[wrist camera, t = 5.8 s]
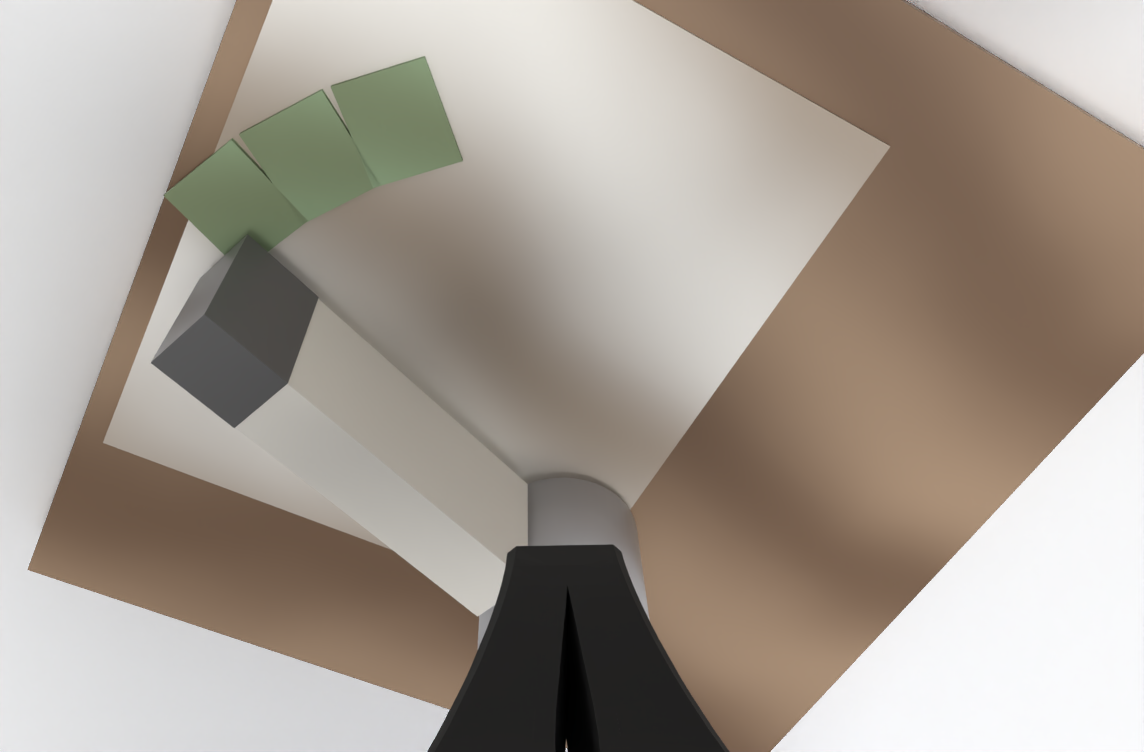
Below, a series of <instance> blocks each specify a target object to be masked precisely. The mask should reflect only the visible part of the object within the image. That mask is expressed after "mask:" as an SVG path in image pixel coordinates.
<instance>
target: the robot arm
mask: <svg viewBox="0 0 1144 752" xmlns="http://www.w3.org/2000/svg"><path fill="white" fill-rule="evenodd" d="M566 741H567V749H568V752H730V751H729V750H728V749H727V747H726V746H725V744H724V743H723V742H722V740H721V739H720V737H719V736H718V734H717V733H716V732H715V730H714V729H713V727H712V726H711V724H710V723H709V721H708V720H707V718H706V717H705V715H704V714H703V712H702V710H701V709H700V707H699V706H698V704H697V703H696V701H695V700H694V698H693V697H692V695H691V693H690V692H689V690H688V689H687V687H686V685H685V684H684V682H683V680H682V679H681V677H680V675H679V674H678V672H677V670H676V668H675V667H674V665H673V663H672V661H671V659H670V658H669V656H668V654H667V652H666V651H665V649H664V647H663V645H662V643H661V642H660V640H659V638H658V636H657V634H656V632H655V630H654V628H653V627H652V625H651V623H650V621H649V618H648V616H647V614H646V612H645V610H644V608H643V606H642V604H641V602H640V600H639V597H638V595H637V593H636V590H635V588H634V586H633V583H632V581H631V578H630V576H629V573H628V570H627V568H626V565H625V562H624V559H623V555H622V552H621V551H620V550H619V549H618V548H617V547H616V546H615V545H613V544H607V545H550V546H516V547H514V548H513V549H512V550H511V551H509V552H508V553H507V558H506V566H505V571H504V575H503V580H502V584H501V587H500V591H499V594H498V597H497V601H496V604H495V607H494V609H493V612H492V615H491V618H490V621H489V624H488V626H487V629H486V631H485V634H484V636H483V639H482V641H481V643H480V646H479V648H478V651H477V653H476V656H475V658H474V660H473V663H472V665H471V668H470V670H469V672H468V674H467V676H466V679H465V681H464V683H463V685H462V687H461V689H460V691H459V693H458V695H457V697H456V699H455V701H454V703H453V705H452V707H451V709H450V711H449V713H448V715H447V717H446V719H445V721H444V723H443V724H442V726H441V728H440V730H439V732H438V734H437V736H436V737H435V739H434V741H433V743H432V744H431V746H430V748H429V750H428V752H565V748H566Z"/></svg>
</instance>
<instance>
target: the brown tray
mask: <svg viewBox="0 0 1144 752" xmlns="http://www.w3.org/2000/svg"><path fill="white" fill-rule="evenodd" d="M247 234H248V235H249V236H250V237H252V238H253V239H254V240H255V241H256V242H257V243H258V244H259V245H261V246H262V247H263V248H264V249H265V250H266V251H267V252H268V253H270V254H271V255H272V256H273V257H274V258H275V259H276V260H277V261H279V262H280V263H281V264H282V265H283V266H284V267H285V268H286V269H288V270H289V271H290V272H291V273H292V274H293V275H294V276H296V277H297V278H298V279H299V280H300V281H301V282H302V283H303V284H305V285H306V286H307V287H308V288H309V289H310V290H311V291H312V292H314V293H315V294H316V295H317V296H318V297H319V298H318V299H319V300H320V301H321V302H323V303H324V304H325V305H326V306H327V307H328V308H329V309H330V310H332V311H333V312H334V313H335V314H336V315H337V316H338V317H339V318H341V319H342V320H343V321H344V322H345V323H346V324H347V325H348V326H350V327H351V328H352V329H353V330H354V331H355V332H356V333H358V334H359V335H360V336H361V337H362V338H363V339H364V340H365V341H367V342H368V343H369V344H370V345H371V346H372V347H373V348H374V349H376V350H377V351H378V352H379V353H380V354H381V355H382V356H383V357H385V358H386V359H387V360H388V361H389V362H390V363H391V364H393V365H394V366H395V367H396V368H397V369H398V370H399V371H400V372H402V373H403V374H404V375H405V376H406V377H407V378H408V379H409V380H411V381H412V382H413V383H414V384H415V385H416V386H417V387H418V388H420V389H421V390H422V391H423V392H424V393H425V394H426V395H428V396H429V397H430V398H431V399H432V400H433V401H434V402H435V403H437V404H438V405H439V406H440V407H441V408H442V409H443V410H444V411H446V412H447V413H448V414H449V415H450V416H451V417H452V418H453V419H455V420H456V421H457V422H458V423H459V424H460V425H461V426H463V427H464V428H465V429H466V430H467V431H468V432H469V433H470V434H472V435H473V436H474V437H475V438H476V439H477V440H478V441H479V442H481V443H482V444H483V445H484V446H485V447H486V448H487V449H488V450H490V451H491V452H492V453H493V454H494V455H495V456H496V457H498V458H499V459H500V460H501V461H502V462H503V463H504V464H505V465H507V466H508V467H509V468H510V469H511V470H512V471H513V472H514V473H516V474H517V475H518V476H519V477H520V478H521V479H522V480H523V481H525V482H526V483H527V484H529V483H532V482H534V481H538V480H543V479H549V478H577V479H582V480H587V481H590V482H593V483H596V484H598V485H601V486H603V487H605V488H607V489H608V490H610V491H612V492H613V493H614V494H616V495H617V496H618V497H619V498H620V499H621V500H622V501H623V502H624V503H625V504H626V505H627V507H628V508H629V509H630V511H631V513H632V515H633V517H634V519H635V523H636V526H637V533H638V540H639V547H640V555H641V562H642V569H643V576H644V584H645V591H646V598H647V605H648V613H649V620H650V623H651V625H652V627H653V628H654V630H655V632H656V634H657V636H658V638H659V640H660V642H661V643H662V645H663V647H664V649H665V651H666V652H667V654H668V656H669V658H670V659H671V661H672V663H673V665H674V667H675V668H676V670H677V672H678V674H679V675H680V677H681V679H682V680H683V682H684V684H685V685H686V687H687V689H688V690H689V692H690V693H691V695H692V697H693V698H694V700H695V701H696V703H697V704H698V706H699V707H700V709H701V710H702V712H703V714H704V715H705V717H706V718H707V720H708V721H709V723H710V724H711V726H712V727H713V729H714V730H715V732H716V733H717V734H718V736H719V737H720V739H721V740H722V742H723V743H724V744H725V746H726V747H727V749H728V750H729V751H730V752H770V751H771V750H772V749H773V748H774V747H775V746H776V745H777V744H778V743H779V742H780V741H781V739H782V738H783V737H784V736H785V735H786V734H787V733H788V732H789V731H790V730H791V729H792V728H793V727H794V726H795V725H796V723H797V722H798V721H799V720H800V719H801V718H802V717H803V716H804V715H805V714H806V713H807V712H808V711H809V710H810V709H811V707H812V706H813V705H814V704H815V703H816V702H817V701H818V700H819V699H820V698H821V697H822V696H823V695H824V694H825V693H826V691H827V690H828V689H829V688H830V687H831V686H832V685H833V684H834V683H835V682H836V681H837V680H838V679H839V678H840V677H841V675H842V674H843V673H844V672H845V671H846V670H847V669H848V668H849V667H850V666H851V665H852V664H853V663H854V662H855V661H856V659H857V658H858V657H859V656H860V655H861V654H862V653H863V652H864V651H865V650H866V649H867V648H868V647H869V646H870V645H871V643H872V642H873V641H874V640H875V639H876V638H877V637H878V636H879V635H880V634H881V633H882V632H883V631H884V630H885V629H886V627H887V626H888V625H889V624H890V623H891V622H892V621H893V620H894V619H895V618H896V617H897V616H898V615H899V614H900V613H901V611H902V610H903V609H904V608H905V607H906V606H907V605H908V604H909V603H910V602H911V601H912V600H913V599H914V598H915V597H916V595H917V594H918V593H919V592H920V591H921V590H922V589H923V588H924V587H925V586H926V585H927V584H928V583H929V582H930V581H931V579H932V578H933V577H934V576H935V575H936V574H937V573H938V572H939V571H940V570H941V569H942V568H943V567H944V566H945V565H946V563H947V562H948V561H949V560H950V559H951V558H952V557H953V556H954V555H955V554H956V553H957V552H958V551H959V550H960V549H961V547H962V546H963V545H964V544H965V543H966V542H967V541H968V540H969V539H970V538H971V537H972V536H973V535H974V534H975V533H976V531H977V530H978V529H979V528H980V527H981V526H982V525H983V524H984V523H985V522H986V521H987V520H988V519H989V518H990V517H991V515H992V514H993V513H994V512H995V511H996V510H997V509H998V508H999V507H1000V506H1001V505H1002V504H1003V503H1004V502H1005V501H1006V499H1007V498H1008V497H1009V496H1010V495H1011V494H1012V493H1013V492H1014V491H1015V490H1016V489H1017V488H1018V487H1019V486H1020V485H1021V483H1022V482H1023V481H1024V480H1025V479H1026V478H1027V477H1028V476H1029V475H1030V474H1031V473H1032V472H1033V471H1034V470H1035V469H1036V467H1037V466H1038V465H1039V464H1040V463H1041V462H1042V461H1043V460H1044V459H1045V458H1046V457H1047V456H1048V455H1049V454H1050V453H1051V451H1052V450H1053V449H1054V448H1055V447H1056V446H1057V445H1058V444H1059V443H1060V442H1061V441H1062V440H1063V439H1064V438H1065V437H1066V435H1067V434H1068V433H1069V432H1070V431H1071V430H1072V429H1073V428H1074V427H1075V426H1076V425H1077V424H1078V423H1079V422H1080V421H1081V419H1082V418H1083V417H1084V416H1085V415H1086V414H1087V413H1088V412H1089V411H1090V410H1091V409H1092V408H1093V407H1094V406H1095V404H1096V403H1097V402H1098V401H1099V400H1100V399H1101V398H1102V397H1103V396H1104V395H1105V394H1106V393H1107V392H1108V391H1109V390H1110V388H1111V387H1112V386H1113V385H1114V384H1115V383H1116V382H1117V381H1118V380H1119V379H1120V378H1121V377H1122V376H1123V375H1124V374H1125V372H1126V371H1127V370H1128V369H1129V368H1130V367H1131V366H1132V365H1133V364H1134V363H1135V362H1136V361H1137V360H1138V359H1139V358H1140V356H1141V355H1142V354H1143V353H1144V147H1142V146H1141V145H1139V144H1137V143H1136V142H1134V141H1133V140H1131V139H1129V138H1128V137H1126V136H1124V135H1123V134H1121V133H1120V132H1118V131H1116V130H1115V129H1113V128H1111V127H1110V126H1108V125H1107V124H1105V123H1103V122H1102V121H1100V120H1099V119H1097V118H1095V117H1094V116H1092V115H1090V114H1089V113H1087V112H1086V111H1084V110H1082V109H1081V108H1079V107H1077V106H1076V105H1074V104H1073V103H1071V102H1069V101H1068V100H1066V99H1065V98H1063V97H1061V96H1060V95H1058V94H1056V93H1055V92H1053V91H1052V90H1050V89H1048V88H1047V87H1045V86H1043V85H1042V84H1040V83H1039V82H1037V81H1035V80H1034V79H1032V78H1031V77H1029V76H1027V75H1026V74H1024V73H1022V72H1021V71H1019V70H1018V69H1016V68H1014V67H1013V66H1011V65H1009V64H1008V63H1006V62H1005V61H1003V60H1001V59H1000V58H998V57H997V56H995V55H993V54H992V53H990V52H988V51H987V50H985V49H984V48H982V47H980V46H979V45H977V44H975V43H974V42H972V41H971V40H969V39H967V38H966V37H964V36H963V35H961V34H959V33H958V32H956V31H954V30H953V29H951V28H950V27H948V26H946V25H945V24H943V23H941V22H940V21H938V20H937V19H935V18H933V17H932V16H930V15H929V14H927V13H925V12H924V11H922V10H920V9H919V8H917V7H916V6H914V5H912V4H911V3H909V2H907V1H906V0H236V3H235V6H234V9H233V11H232V14H231V17H230V20H229V22H228V25H227V28H226V30H225V33H224V36H223V39H222V41H221V44H220V47H219V49H218V52H217V55H216V58H215V60H214V63H213V66H212V69H211V71H210V74H209V77H208V79H207V82H206V85H205V88H204V90H203V93H202V96H201V99H200V101H199V104H198V107H197V109H196V112H195V115H194V118H193V120H192V123H191V126H190V128H189V131H188V134H187V137H186V139H185V142H184V145H183V148H182V150H181V153H180V156H179V158H178V161H177V164H176V167H175V169H174V172H173V175H172V178H171V180H170V183H169V186H168V188H167V191H166V193H165V194H164V199H163V202H162V205H161V207H160V210H159V213H158V216H157V218H156V221H155V224H154V227H153V229H152V232H151V235H150V237H149V240H148V243H147V246H146V248H145V251H144V254H143V257H142V259H141V262H140V265H139V267H138V270H137V273H136V276H135V278H134V281H133V284H132V286H131V289H130V292H129V295H128V297H127V300H126V303H125V306H124V308H123V311H122V314H121V316H120V319H119V322H118V325H117V327H116V330H115V333H114V336H113V338H112V341H111V344H110V346H109V349H108V352H107V355H106V357H105V360H104V363H103V365H102V368H101V371H100V374H99V376H98V379H97V382H96V385H95V387H94V390H93V393H92V395H91V398H90V401H89V404H88V406H87V409H86V412H85V415H84V417H83V420H82V423H81V425H80V428H79V431H78V434H77V436H76V439H75V442H74V444H73V447H72V450H71V453H70V455H69V458H68V461H67V464H66V466H65V469H64V472H63V474H62V477H61V480H60V483H59V485H58V488H57V491H56V494H55V496H54V499H53V502H52V504H51V507H50V510H49V513H48V515H47V518H46V521H45V523H44V526H43V529H42V532H41V534H40V537H39V540H38V543H37V545H36V548H35V551H34V553H33V556H32V559H31V562H30V564H29V567H28V570H30V571H33V572H36V573H39V574H42V575H45V576H48V577H51V578H54V579H57V580H60V581H63V582H66V583H69V584H72V585H75V586H78V587H81V588H84V589H87V590H90V591H93V592H96V593H99V594H102V595H105V596H108V597H111V598H114V599H117V600H120V601H123V602H127V603H130V604H133V605H136V606H139V607H142V608H145V609H148V610H151V611H154V612H157V613H160V614H163V615H166V616H169V617H172V618H175V619H178V620H181V621H184V622H187V623H190V624H193V625H196V626H199V627H202V628H205V629H208V630H211V631H214V632H217V633H220V634H223V635H226V636H229V637H232V638H235V639H238V640H241V641H244V642H247V643H250V644H253V645H257V646H260V647H263V648H266V649H269V650H272V651H275V652H278V653H281V654H284V655H287V656H290V657H293V658H296V659H299V660H302V661H305V662H308V663H311V664H314V665H317V666H320V667H323V668H326V669H329V670H332V671H335V672H338V673H341V674H344V675H347V676H350V677H353V678H356V679H359V680H362V681H365V682H368V683H371V684H374V685H377V686H380V687H383V688H387V689H390V690H393V691H396V692H399V693H402V694H405V695H408V696H411V697H414V698H417V699H420V700H423V701H426V702H429V703H432V704H435V705H438V706H441V707H444V708H447V709H451V707H452V705H453V703H454V701H455V699H456V697H457V695H458V693H459V691H460V689H461V687H462V685H463V683H464V681H465V679H466V676H467V674H468V672H469V670H470V668H471V665H472V663H473V660H474V658H475V656H476V653H477V651H478V631H479V616H478V617H477V616H476V615H475V614H474V613H472V612H471V611H470V610H468V609H467V608H466V607H465V606H463V605H462V604H461V603H459V602H458V601H457V600H456V599H454V598H453V597H452V596H451V595H449V594H448V593H447V592H445V591H444V590H443V589H442V588H440V587H439V586H438V585H437V584H435V583H434V582H433V581H431V580H430V579H429V578H428V577H426V576H425V575H424V574H422V573H421V572H420V571H419V570H417V569H416V568H415V567H414V566H412V565H411V564H410V563H408V562H407V561H406V560H405V559H403V558H402V557H401V556H400V555H398V554H397V553H396V552H394V551H393V550H392V549H391V548H389V547H388V546H387V545H385V544H384V543H383V542H382V541H380V540H379V539H378V538H377V537H375V536H374V535H373V534H371V533H370V532H369V531H368V530H366V529H365V528H364V527H363V526H361V525H360V524H359V523H357V522H356V521H355V520H354V519H352V518H351V517H350V516H348V515H347V514H346V513H345V512H343V511H342V510H341V509H340V508H338V507H337V506H336V505H334V504H333V503H332V502H331V501H329V500H328V499H327V498H326V497H324V496H323V495H322V494H320V493H319V492H318V491H317V490H315V489H314V488H313V487H311V486H310V485H309V484H308V483H306V482H305V481H304V480H303V479H301V478H300V477H299V476H297V475H296V474H295V473H294V472H292V471H291V470H290V469H288V468H287V467H286V466H285V465H283V464H282V463H281V462H280V461H278V460H277V459H276V458H274V457H273V456H272V455H271V454H269V453H268V452H267V451H266V450H264V449H263V448H262V447H260V446H259V445H258V444H257V443H255V442H254V441H253V440H251V439H250V438H249V437H248V436H246V435H245V434H244V433H243V432H241V431H240V430H239V429H237V428H236V427H235V428H233V427H232V426H231V425H229V424H228V423H227V422H226V421H224V420H223V419H222V418H220V417H219V416H218V415H217V414H215V413H214V412H213V411H211V410H210V409H209V408H208V407H206V406H205V405H204V404H203V403H201V402H200V401H199V400H197V399H196V398H195V397H194V396H192V395H191V394H190V393H188V392H187V391H186V390H185V389H183V388H182V387H181V386H180V385H178V384H177V383H176V382H174V381H173V380H172V379H171V378H169V377H168V376H167V375H165V374H164V373H163V372H162V371H160V370H159V369H158V368H157V367H155V366H154V365H153V364H151V361H152V359H153V358H154V356H155V354H156V353H157V351H158V349H159V347H160V346H161V344H162V342H163V341H164V339H165V337H166V335H167V334H168V332H169V330H170V329H171V327H172V325H173V323H174V322H175V320H176V318H177V317H178V315H179V313H180V311H181V310H182V308H183V306H184V305H185V303H186V301H187V299H188V298H189V296H190V294H191V293H192V291H193V289H194V287H195V286H196V284H197V282H198V281H199V279H200V278H201V277H202V276H203V275H204V274H205V273H206V272H207V271H208V270H209V269H210V268H211V267H212V266H214V265H215V264H216V263H217V262H218V261H219V260H220V259H221V258H222V257H223V256H224V255H225V254H227V253H228V252H229V251H230V250H231V249H232V248H233V247H234V246H235V245H236V244H237V243H239V242H240V241H241V240H242V239H243V238H244V237H245V236H246V235H247ZM566 748H567V741H566Z"/></svg>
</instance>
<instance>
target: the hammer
mask: <svg viewBox="0 0 1144 752" xmlns="http://www.w3.org/2000/svg"><path fill="white" fill-rule="evenodd" d="M318 298H319V297H318V296H317V295H316V294H315V293H314V292H312V291H311V290H310V289H309V288H308V287H307V286H306V285H305V284H303V283H302V282H301V281H300V280H299V279H298V278H297V277H296V276H294V275H293V274H292V273H291V272H290V271H289V270H288V269H286V268H285V267H284V266H283V265H282V264H281V263H280V262H279V261H277V260H276V259H275V258H274V257H273V256H272V255H271V254H270V253H268V252H267V251H266V250H265V249H264V248H263V247H262V246H261V245H259V244H258V243H257V242H256V241H255V240H254V239H253V238H252V237H250V236H249V235H248V234H247V235H246V236H245V237H244V238H243V239H242V240H241V241H240V242H239V243H237V244H236V245H235V246H234V247H233V248H232V249H231V250H230V251H229V252H228V253H227V254H225V255H224V256H223V257H222V258H221V259H220V260H219V261H218V262H217V263H216V264H215V265H214V266H212V267H211V268H210V269H209V270H208V271H207V272H206V273H205V274H204V275H203V276H202V277H201V278H200V279H199V281H198V282H197V284H196V286H195V287H194V289H193V291H192V293H191V294H190V296H189V298H188V299H187V301H186V303H185V305H184V306H183V308H182V310H181V311H180V313H179V315H178V317H177V318H176V320H175V322H174V323H173V325H172V327H171V329H170V330H169V332H168V334H167V335H166V337H165V339H164V341H163V342H162V344H161V346H160V347H159V349H158V351H157V353H156V354H155V356H154V358H153V359H152V361H151V364H153V365H154V366H155V367H157V368H158V369H159V370H160V371H162V372H163V373H164V374H165V375H167V376H168V377H169V378H171V379H172V380H173V381H174V382H176V383H177V384H178V385H180V386H181V387H182V388H183V389H185V390H186V391H187V392H188V393H190V394H191V395H192V396H194V397H195V398H196V399H197V400H199V401H200V402H201V403H203V404H204V405H205V406H206V407H208V408H209V409H210V410H211V411H213V412H214V413H215V414H217V415H218V416H219V417H220V418H222V419H223V420H224V421H226V422H227V423H228V424H229V425H231V426H232V427H233V428H235V427H236V428H237V429H239V430H240V431H241V432H243V433H244V434H245V435H246V436H248V437H249V438H250V439H251V440H253V441H254V442H255V443H257V444H258V445H259V446H260V447H262V448H263V449H264V450H266V451H267V452H268V453H269V454H271V455H272V456H273V457H274V458H276V459H277V460H278V461H280V462H281V463H282V464H283V465H285V466H286V467H287V468H288V469H290V470H291V471H292V472H294V473H295V474H296V475H297V476H299V477H300V478H301V479H303V480H304V481H305V482H306V483H308V484H309V485H310V486H311V487H313V488H314V489H315V490H317V491H318V492H319V493H320V494H322V495H323V496H324V497H326V498H327V499H328V500H329V501H331V502H332V503H333V504H334V505H336V506H337V507H338V508H340V509H341V510H342V511H343V512H345V513H346V514H347V515H348V516H350V517H351V518H352V519H354V520H355V521H356V522H357V523H359V524H360V525H361V526H363V527H364V528H365V529H366V530H368V531H369V532H370V533H371V534H373V535H374V536H375V537H377V538H378V539H379V540H380V541H382V542H383V543H384V544H385V545H387V546H388V547H389V548H391V549H392V550H393V551H394V552H396V553H397V554H398V555H400V556H401V557H402V558H403V559H405V560H406V561H407V562H408V563H410V564H411V565H412V566H414V567H415V568H416V569H417V570H419V571H420V572H421V573H422V574H424V575H425V576H426V577H428V578H429V579H430V580H431V581H433V582H434V583H435V584H437V585H438V586H439V587H440V588H442V589H443V590H444V591H445V592H447V593H448V594H449V595H451V596H452V597H453V598H454V599H456V600H457V601H458V602H459V603H461V604H462V605H463V606H465V607H466V608H467V609H468V610H470V611H471V612H472V613H474V614H475V615H476V616H477V617H478V616H479V631H478V648H479V646H480V643H481V641H482V639H483V636H484V634H485V631H486V629H487V626H488V624H489V621H490V618H491V615H492V612H493V609H494V607H495V604H496V601H497V597H498V594H499V591H500V587H501V584H502V580H503V575H504V571H505V566H506V558H507V553H508V552H509V551H511V550H512V549H513V548H514V547H516V546H550V545H607V544H613V545H615V546H616V547H617V548H618V549H619V550H620V551H621V552H622V555H623V559H624V562H625V565H626V568H627V570H628V573H629V576H630V578H631V581H632V583H633V586H634V588H635V590H636V593H637V595H638V597H639V600H640V602H641V604H642V606H643V608H644V610H645V612H646V614H647V616H648V618H649V613H648V605H647V598H646V591H645V584H644V576H643V569H642V562H641V555H640V547H639V540H638V533H637V526H636V523H635V519H634V517H633V515H632V513H631V511H630V509H629V508H628V507H627V505H626V504H625V503H624V502H623V501H622V500H621V499H620V498H619V497H618V496H617V495H616V494H614V493H613V492H612V491H610V490H608V489H607V488H605V487H603V486H601V485H598V484H596V483H593V482H590V481H587V480H582V479H577V478H549V479H543V480H538V481H534V482H532V483H529V484H527V483H526V482H525V481H523V480H522V479H521V478H520V477H519V476H518V475H517V474H516V473H514V472H513V471H512V470H511V469H510V468H509V467H508V466H507V465H505V464H504V463H503V462H502V461H501V460H500V459H499V458H498V457H496V456H495V455H494V454H493V453H492V452H491V451H490V450H488V449H487V448H486V447H485V446H484V445H483V444H482V443H481V442H479V441H478V440H477V439H476V438H475V437H474V436H473V435H472V434H470V433H469V432H468V431H467V430H466V429H465V428H464V427H463V426H461V425H460V424H459V423H458V422H457V421H456V420H455V419H453V418H452V417H451V416H450V415H449V414H448V413H447V412H446V411H444V410H443V409H442V408H441V407H440V406H439V405H438V404H437V403H435V402H434V401H433V400H432V399H431V398H430V397H429V396H428V395H426V394H425V393H424V392H423V391H422V390H421V389H420V388H418V387H417V386H416V385H415V384H414V383H413V382H412V381H411V380H409V379H408V378H407V377H406V376H405V375H404V374H403V373H402V372H400V371H399V370H398V369H397V368H396V367H395V366H394V365H393V364H391V363H390V362H389V361H388V360H387V359H386V358H385V357H383V356H382V355H381V354H380V353H379V352H378V351H377V350H376V349H374V348H373V347H372V346H371V345H370V344H369V343H368V342H367V341H365V340H364V339H363V338H362V337H361V336H360V335H359V334H358V333H356V332H355V331H354V330H353V329H352V328H351V327H350V326H348V325H347V324H346V323H345V322H344V321H343V320H342V319H341V318H339V317H338V316H337V315H336V314H335V313H334V312H333V311H332V310H330V309H329V308H328V307H327V306H326V305H325V304H324V303H323V302H321V301H320V300H319V299H318ZM649 621H650V620H649Z"/></svg>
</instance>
